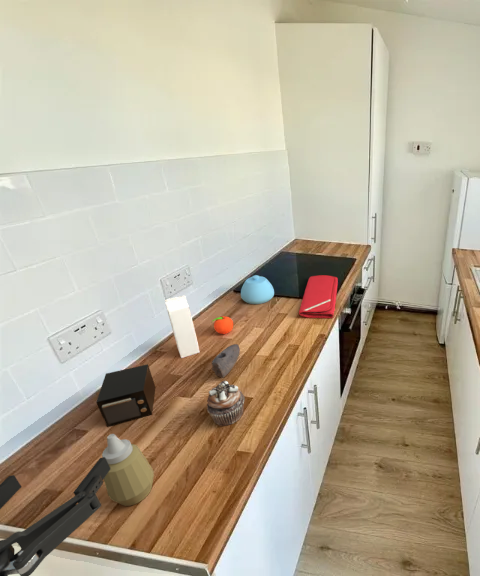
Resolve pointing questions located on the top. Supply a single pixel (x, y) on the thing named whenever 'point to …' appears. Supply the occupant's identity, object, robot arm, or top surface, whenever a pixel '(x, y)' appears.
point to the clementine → (223, 324)
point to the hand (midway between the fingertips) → (61, 472)
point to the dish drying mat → (319, 297)
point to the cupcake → (225, 404)
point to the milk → (182, 326)
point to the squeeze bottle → (126, 472)
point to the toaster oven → (126, 395)
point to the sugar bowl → (257, 290)
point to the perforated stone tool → (225, 360)
